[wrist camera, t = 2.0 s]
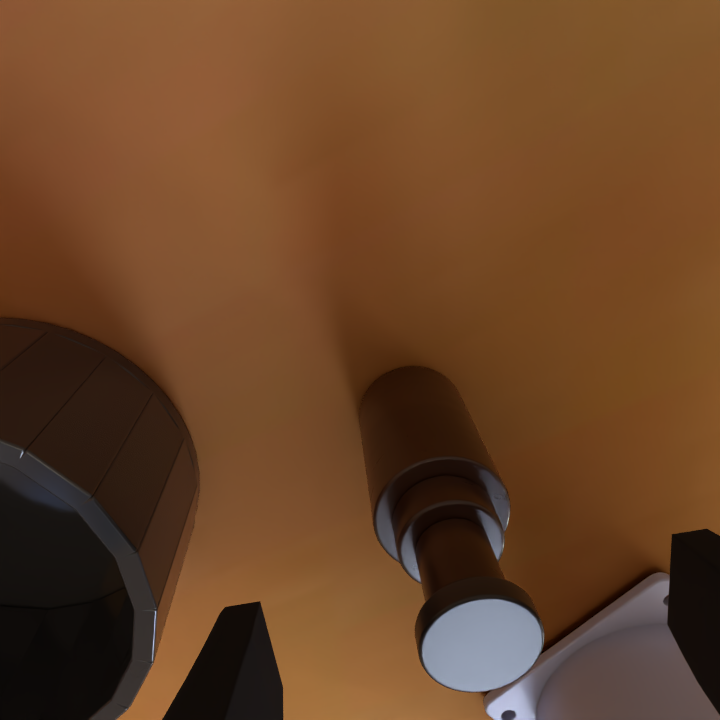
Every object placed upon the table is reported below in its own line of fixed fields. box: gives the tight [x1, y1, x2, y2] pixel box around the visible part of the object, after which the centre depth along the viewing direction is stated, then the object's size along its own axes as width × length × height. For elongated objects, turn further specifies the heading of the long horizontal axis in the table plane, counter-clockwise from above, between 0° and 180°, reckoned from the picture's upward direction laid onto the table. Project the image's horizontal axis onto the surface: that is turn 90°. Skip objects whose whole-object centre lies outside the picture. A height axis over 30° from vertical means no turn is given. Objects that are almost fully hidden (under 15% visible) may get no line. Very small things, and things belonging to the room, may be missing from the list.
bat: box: [359, 367, 544, 692], centre depth 14 cm, size 3×3×8 cm
